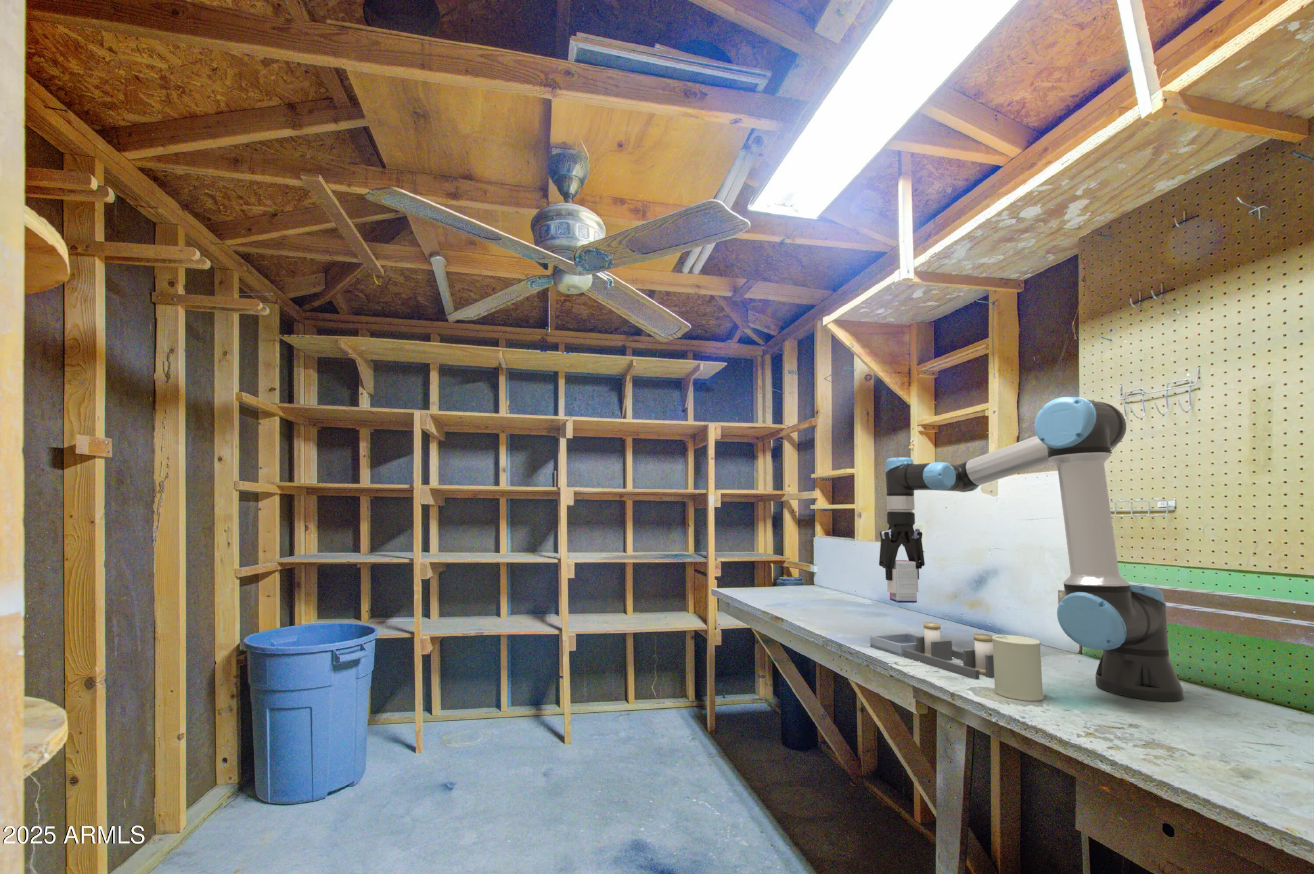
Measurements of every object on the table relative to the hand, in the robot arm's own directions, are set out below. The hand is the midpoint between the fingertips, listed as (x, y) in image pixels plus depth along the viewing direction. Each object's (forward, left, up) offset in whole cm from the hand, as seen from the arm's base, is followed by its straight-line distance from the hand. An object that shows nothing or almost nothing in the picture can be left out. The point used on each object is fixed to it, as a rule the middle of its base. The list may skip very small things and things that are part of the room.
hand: (902, 591), depth 172 cm
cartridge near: (-26, 0, -16) cm, 31 cm away
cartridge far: (-10, 0, -16) cm, 19 cm away
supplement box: (0, 0, -3) cm, 3 cm away
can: (-41, +8, -16) cm, 45 cm away
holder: (-18, 0, -16) cm, 24 cm away
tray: (0, 0, -16) cm, 16 cm away
